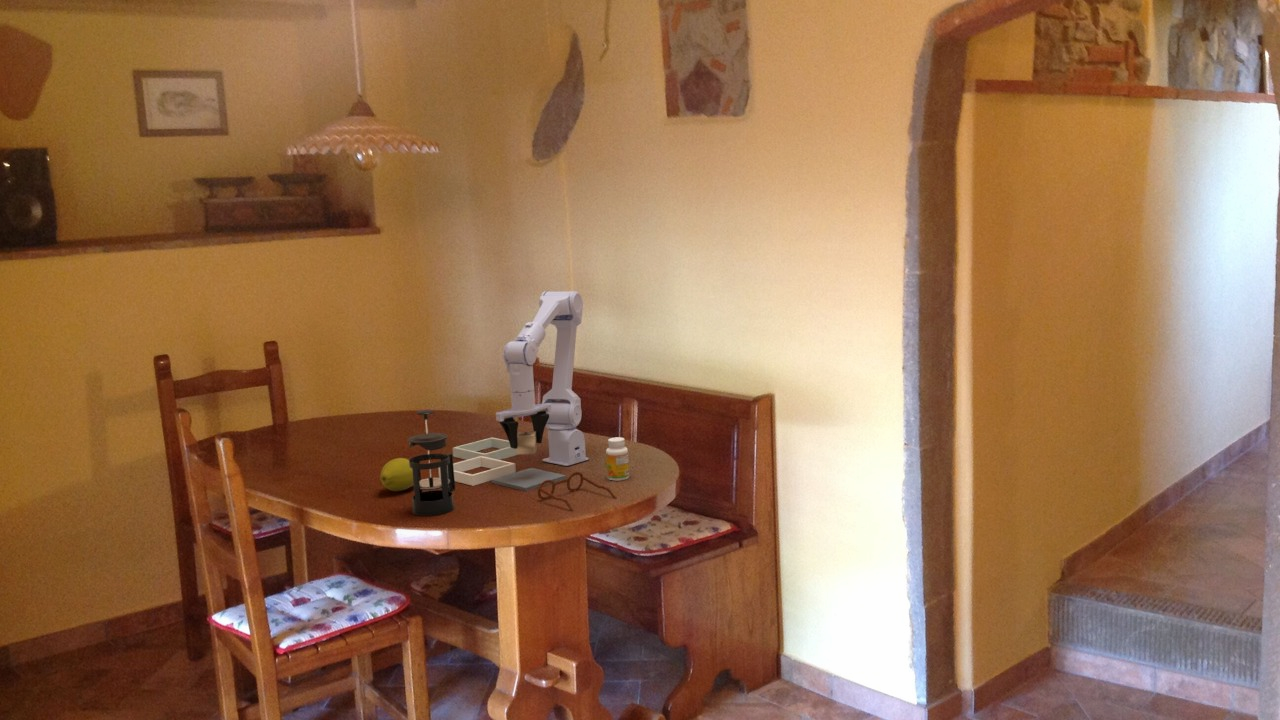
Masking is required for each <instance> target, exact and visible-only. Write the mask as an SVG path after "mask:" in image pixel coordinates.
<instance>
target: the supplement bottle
mask: <svg viewBox="0 0 1280 720" xmlns="http://www.w3.org/2000/svg"><path fill="white" fill-rule="evenodd" d="M625 444H626V442H625V438H624V437H621V436H620V437H617V436H615V437H611V438H608V440H607V445H608V447H607V448H606V450H605V459H606V476H607V480H610V481H613V482H614V481H617V482H620V481H625V480H628V479H629V478H630V465H629V464H630V461H629V450H628V449H629V448H627V447H626V446H625Z"/></svg>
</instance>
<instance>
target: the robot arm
mask: <svg viewBox="0 0 1280 720" xmlns="http://www.w3.org/2000/svg"><path fill="white" fill-rule="evenodd" d="M538 300H539V307H538V308H539V309H538V310H537V312H536V314H535V316H534V318H533V319H532V321H529V322H526V323H525V324H524V326H523V327H522V329H521V330H520V331H519V333H517V336H516V337H515V339H514V340H511V341H509V342H508V343H506V344H505V346H504V349H503V355H502V356H503V357H502V358H503V361H504V363H505V366H506V371H507V372H508V374H509V385H510V386H509V389H510V401H511V402H510V403H511V407H510V408H508V409H504V410H501V411H497V412H495V420H496V421H497V422H499V424H500V426H501V427H502V429H503V431H504V432H505V435H506V437H507V440H508V441H509V443H510V447H511V448H514V449H516V448H517V447H518V442H517V432H518V428H519V422H518V421H516V420H515V419H517V418H523V417H527V416H530V419H531V423H532V427H533V428H532V430H533V431H536V441H537V444H542V441H543V436H544V431H545V429H547V439H548V440H547V441H548V443H547V444H548V455H549V456H548V457H547V458H546V457H545V458H542V462H545V463H550V464H555V465H559V466H564V467H567V466H573V465H575V464H578V463H582V462H585V461H588V460H589V457H587V454H586V453H587V452H586V438H585V435H584V432H582V430H579V429H578V428H577V426H578V425H579V424H580V423H581V421H582V414H583V412H582V406H581V405H582V404H581V401H582V399H581V397H579V396H578V394H577V393H575V392H574V391H573V390H572V389H573V387H572V386H573V375H574V374H573V373H574V364H575V351H576V342H577V341H576V340H577V331H578V329H577V328H578V326H579V325H581V324H582V318H583V310H584V309H583V307H584V302H583V298H582V295H581V293H580V292H579V291H577V290H572V291H569V290H568V291H549V290H544V291H543V292H542V293H541V295H540V297H539V299H538ZM549 325H553V326H555V329H556V341H555V352H554V360H553V361H554V362H553V363H554V364H553V376H552V384H551V385H552V386H551V389H549V390H548V391H547V392H546V393H545V394H544V395H543V396H542V401H541V403H536V397H535V396H536V395H535V382H534V378H535V377H534V366H533V365H534V364H535V363H536V360H537V355H538V352H539V349H538V348H539V347H540V345H541V344H542V343H543V340H544V339H545V337H546V335H547V334H546V329H547V328H548V326H549Z"/></svg>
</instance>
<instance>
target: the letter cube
mask: <svg viewBox="0 0 1280 720" xmlns="http://www.w3.org/2000/svg"><path fill="white" fill-rule="evenodd" d="M517 442H518V447H517V448H516V455H515V456H518V455H517V454H519V455H535V454H536V452H537V450H538V445H537V444H538V443H537V441H536V431H534V430H533V431H532V430H531V431H517Z"/></svg>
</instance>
